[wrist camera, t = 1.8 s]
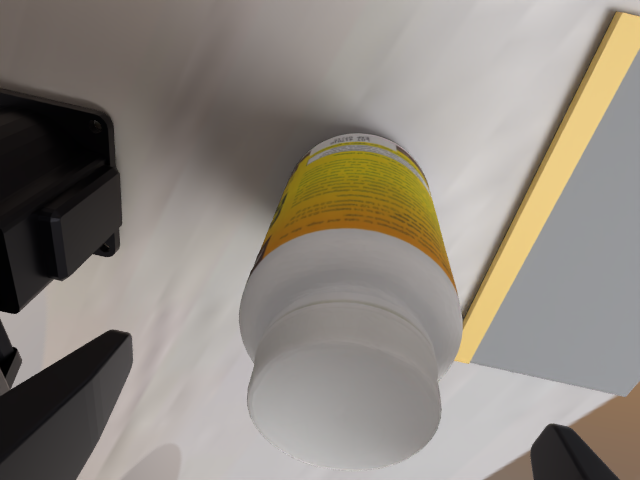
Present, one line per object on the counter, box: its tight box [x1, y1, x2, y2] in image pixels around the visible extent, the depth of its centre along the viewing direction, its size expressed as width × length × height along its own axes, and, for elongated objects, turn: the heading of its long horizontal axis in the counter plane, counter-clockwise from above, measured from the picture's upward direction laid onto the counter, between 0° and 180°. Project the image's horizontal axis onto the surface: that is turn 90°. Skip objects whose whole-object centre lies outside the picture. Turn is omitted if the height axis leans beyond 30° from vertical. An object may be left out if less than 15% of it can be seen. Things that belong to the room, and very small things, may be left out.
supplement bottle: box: [239, 133, 463, 471], centre depth 13 cm, size 6×6×10 cm
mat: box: [454, 12, 640, 397], centre depth 17 cm, size 9×15×1 cm, turn 169°
